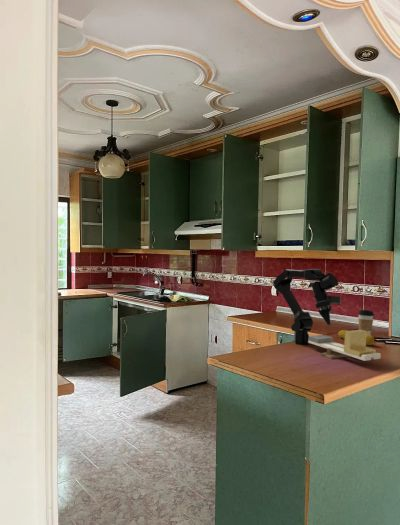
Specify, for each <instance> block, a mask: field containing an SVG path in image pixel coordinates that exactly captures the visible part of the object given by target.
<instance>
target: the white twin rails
mask: <svg viewBox="0 0 400 525" xmlns="http://www.w3.org/2000/svg"><path fill="white" fill-rule="evenodd" d="M308 344H310V345H311V344H312V345H315V346H317V347H321V348H324V349H327V348H329V349H332V350H333V351H336V352H339V353H342V354H345V355H348V357H352V358H355V359H358V360H361V361H365V362H366V361H371V360H379V359H381V358H382V357H381V356H382V355H381V353H380V352H376V353H372V354H365V355H362V356H361V357H359V356H355V355H352V354H349V353H346V352H344V344H341V343H338V342H335V341H334V337H332V336H330V335H329V336H328V335H326V334H321V335H317V334H316V335H309V339H308Z"/></svg>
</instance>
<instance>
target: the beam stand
mask: <svg viewBox="0 0 400 525" xmlns="http://www.w3.org/2000/svg"><path fill="white" fill-rule="evenodd" d="M320 356H321V357H325V358H327V359H330V360H333V359H340V358H347V357H349V356H348V355H345V354H342V353H339V352H336V351H333V350H332V349H329V348H326V352H320Z"/></svg>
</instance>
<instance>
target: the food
mask: <svg viewBox="0 0 400 525" xmlns="http://www.w3.org/2000/svg"><path fill="white" fill-rule="evenodd" d="M345 331H349V330H348V329H347V330H345V329H344V330H343V329H342V330H340V331H338V332H337V334H338V337H339V338H341V339H342V340H345ZM374 343H375V338H374V336H373V335H372V334H371V335H369V334H366V346H372V345H373V344H374Z"/></svg>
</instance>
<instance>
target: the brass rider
mask: <svg viewBox="0 0 400 525" xmlns="http://www.w3.org/2000/svg"><path fill="white" fill-rule="evenodd" d="M366 333H367V331H364V330H359V329H355V330H348V331H345V339H344V344H343V345H344V352H346V353H349V354H352V355H355V356H359V357H361V356H362V355H365V354H372V353H377V352H376V349H374V348H370V347H367V345H366Z"/></svg>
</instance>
